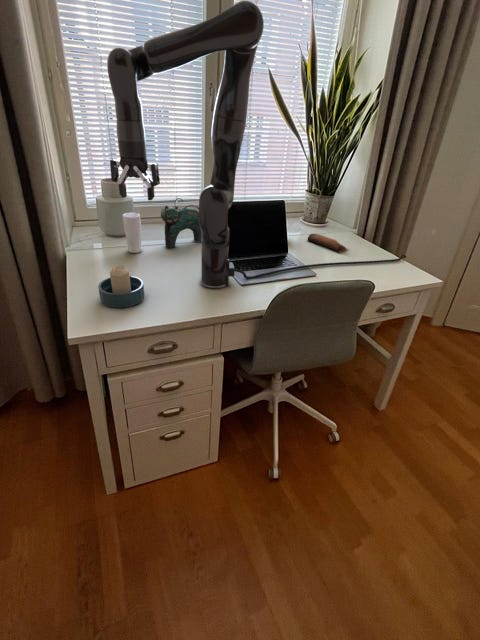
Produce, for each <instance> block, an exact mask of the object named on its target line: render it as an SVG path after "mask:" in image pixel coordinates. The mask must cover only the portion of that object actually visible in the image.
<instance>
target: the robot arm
mask: <svg viewBox="0 0 480 640" xmlns="http://www.w3.org/2000/svg"><path fill="white" fill-rule="evenodd" d="M264 27H265V20H264V17H263V13H262V11H261V9H260V7H259V6H258V5H257V4H255V3H254V2H252V1H250V0H240V1H238V2H235V4H233V5H231V7H228V8H226V9H225V10H223V11H222V12H220V13H218V14H217V15H215V16H213V17H210V18H208V19H206V20H204V21H201V22H199V23H196V24H194V25H190V26H188V27H184V28H181V29H177V30H174V31H170V32H167V33H164V34H160V35H158V36H155V37H153V38H150V39H148V40H146V41H145V42H143V44H142V45H139V46H136V47H134V48H130V49H126V48H123V47H115V48H113V49H111V50H110V52H109V53H108V56H107V60H106V65H107V67H106V69H107V74H108V79H109V80H108V81H109V84H110V88H111V89H110V90H111V92H112V96H113V99H114V111H115V119H116V138H117V147H118V152H119V153H118V154H119V160H118V159H116V158H114V159H113V158H112V159H110V161H109V166H110V167H109V168H110V179H111V181H112V182H113V183H114V182H115V183H116V184H117V185H118V191H119V195H120V196H121V198H123V199H125V198H127V196H128V193H127V192H128V191H127V183H126V181H127V179H128V178H135V179H141V181H142V182H144V183H145V185H146V186H147V187H146V192H147V200H148V201H153V200H154V199H155V187H157V186H158V185H160V184H161V181H160V171H159V164H158V163H157V162H154V163H149V162H148V159H147V158H148V154H147V141H146V130H145V124H144V115H143V113H144V112H143V104H142V101H141V98H140V96H139V92H138V82H141V81H143V80H146V79H147V78H150V77H152V76H154V75H157V74H161V73H162V74H163V73H165V72H169V71H171V70H174V69H178V68H180V67H182V66H186V65H188V64H190V63H192V62H194V61H197V60H198V59H200V58H203V57H206V56H208V55H211V54H214V53H219V52H223V51H224V62H223V63H224V64H223V71H222V76H221V80H220V84H219V87H218V92H217V95H216V100H215V104H214V109H213V117H212V124H211V135H210V136H211V149H212V157H213V158H212V159H213V160H212V161H213V162H212V163H213V164H212V171H211V175H210V181H209V183H208V186H206V187H205V188H204V189H203V190H202V191H200V194H199V198H198V208H199V210H198V212H199V224H200V229H201V242H200V243H201V247H200V248H201V254H200V255H201V257H200V258H201V264H200V266H201V270H200V273H201V277H200V279H201V280H200V284H201V285H202V286H203V287H205V288H208V289H215V290H216V289H223V288H225V287H229V285H230V284H229V282H230V277H235V272H237V273H240V274H242V275H243V278H245V279H247V280H250V279H257V278H260V277H264V276H269V275H273V274H277V273H282V272H288V271H293V270H298V269H299V270H300V269H306V268H314V267H324V266H339V265H360V264H361V265H362V264H379V263H392V262H393V263H394V262H399V261H401V260H402V259H403V258H404V259H405V258H407V255H406V254H402V255H401V256H400V257H399V258H394V259H393V258H392V259H381V260H380V259H379V260H378V259H377V260H363V261H360V260H359V261H340V262H326V263H325V262H324V263H313V264H305V265H299V266H293V267H286V268H281V269H277V270H272V271H269V272H263V273H258V274H256V275H251V276H249V275H247V273H246V272H245V271H243V270H241V269H238V268H236V267H235V265H234V263H233V262H231V261H230V258H229V257H230V234H231V230H230V229H231V228H230V227H229V225H228V219H229V218H228V216H229V215H228V214H229V210H230V208H231V207H232V205H233V204H234V197H235V185H236V173H237V167H238V162H239V159H240V156H241V155H240V154H241V150H242V145H243V140H244V136H245V130H246V125H247V119H248V112H249V101H250V100H249V99H250V83H251V82H250V81H251V74H252V70H253V65H254V61H255V57H256V53H257V49H258V46H259V43H260V40H261V38H262V36H263V34H264ZM120 167H121V169H122V171H121V173H119V168H120ZM148 170H149V171H150V172H151V175H150V174H149V172H148Z"/></svg>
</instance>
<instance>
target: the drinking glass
mask: <svg viewBox="0 0 480 640" xmlns="http://www.w3.org/2000/svg"><path fill="white" fill-rule="evenodd" d="M122 225H123V229H124V234H125V239H126V244H127V251H128V252H129V253H131V254H138V253H141V252H142V251H143V248H142V219H141V214H140V213H138V212H125V213H123V214H122Z"/></svg>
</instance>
